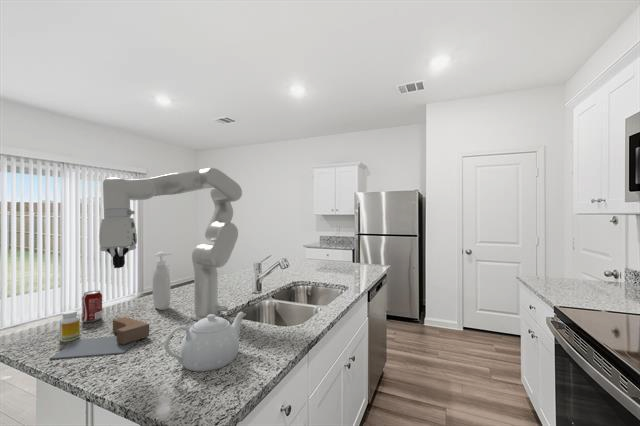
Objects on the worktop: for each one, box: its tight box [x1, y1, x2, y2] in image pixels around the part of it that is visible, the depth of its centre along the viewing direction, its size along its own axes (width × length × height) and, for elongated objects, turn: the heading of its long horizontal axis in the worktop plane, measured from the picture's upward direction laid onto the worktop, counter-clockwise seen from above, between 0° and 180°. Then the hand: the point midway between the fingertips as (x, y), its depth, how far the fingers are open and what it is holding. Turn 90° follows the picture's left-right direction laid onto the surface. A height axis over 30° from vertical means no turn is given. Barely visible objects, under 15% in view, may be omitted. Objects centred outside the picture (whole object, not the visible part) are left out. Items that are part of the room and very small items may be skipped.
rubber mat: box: [49, 335, 137, 361], centre depth 99 cm, size 21×14×1 cm, turn 100°
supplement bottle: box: [59, 309, 81, 343], centre depth 105 cm, size 5×5×10 cm
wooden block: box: [112, 316, 150, 345], centre depth 107 cm, size 9×4×18 cm
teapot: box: [164, 311, 247, 372], centre depth 90 cm, size 19×18×14 cm
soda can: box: [81, 289, 103, 323], centre depth 124 cm, size 7×7×12 cm
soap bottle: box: [151, 251, 173, 311], centre depth 140 cm, size 14×8×27 cm, turn 48°
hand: (119, 267), depth 100 cm, fingers closed
